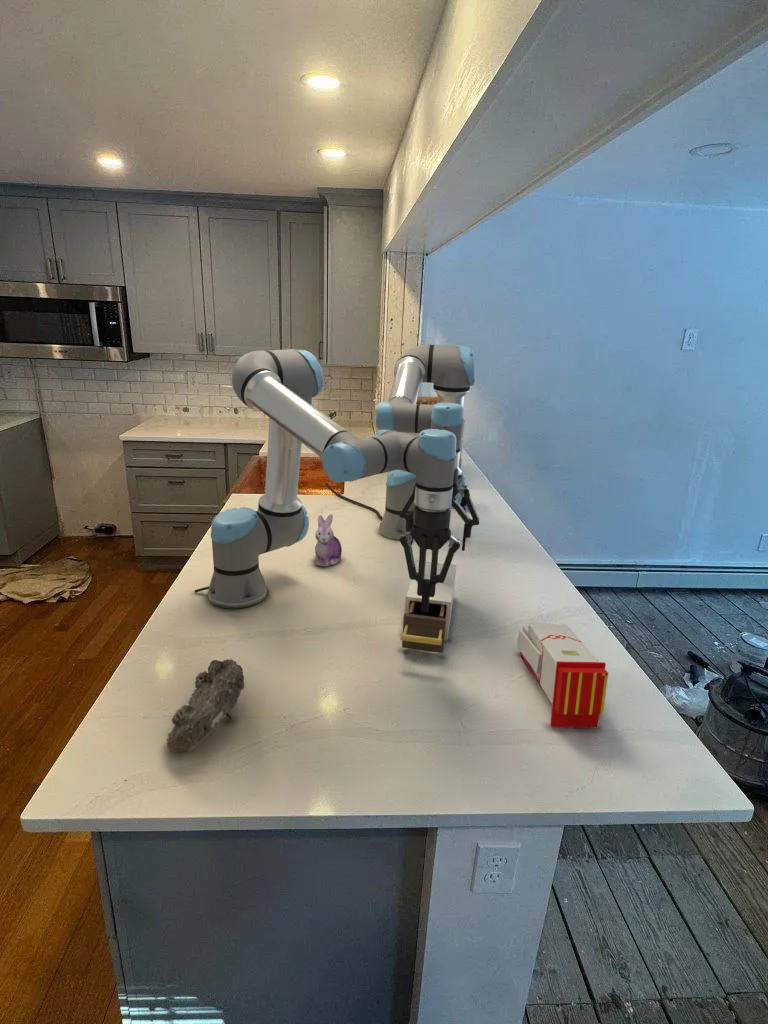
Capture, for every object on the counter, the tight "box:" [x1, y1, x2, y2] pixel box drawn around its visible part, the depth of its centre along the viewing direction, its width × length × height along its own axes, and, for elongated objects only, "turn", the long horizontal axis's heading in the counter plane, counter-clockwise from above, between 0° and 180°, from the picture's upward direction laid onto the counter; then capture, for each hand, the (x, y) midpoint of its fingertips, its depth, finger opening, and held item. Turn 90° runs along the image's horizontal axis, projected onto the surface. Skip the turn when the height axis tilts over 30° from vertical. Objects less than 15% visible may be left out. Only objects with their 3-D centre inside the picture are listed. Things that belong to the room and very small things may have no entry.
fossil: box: [166, 658, 245, 754], centre depth 106 cm, size 22×10×15 cm
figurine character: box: [460, 484, 471, 512], centre depth 229 cm, size 7×8×15 cm
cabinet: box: [404, 559, 457, 641], centre depth 146 cm, size 21×11×10 cm, turn 170°
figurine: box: [314, 513, 343, 567], centre depth 173 cm, size 9×10×15 cm
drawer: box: [400, 601, 446, 654], centre depth 136 cm, size 26×10×8 cm, turn 170°
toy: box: [516, 623, 609, 728], centre depth 121 cm, size 12×13×30 cm
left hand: (424, 608), depth 123 cm, fingers closed
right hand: (437, 546), depth 147 cm, fingers open, 13 cm apart
